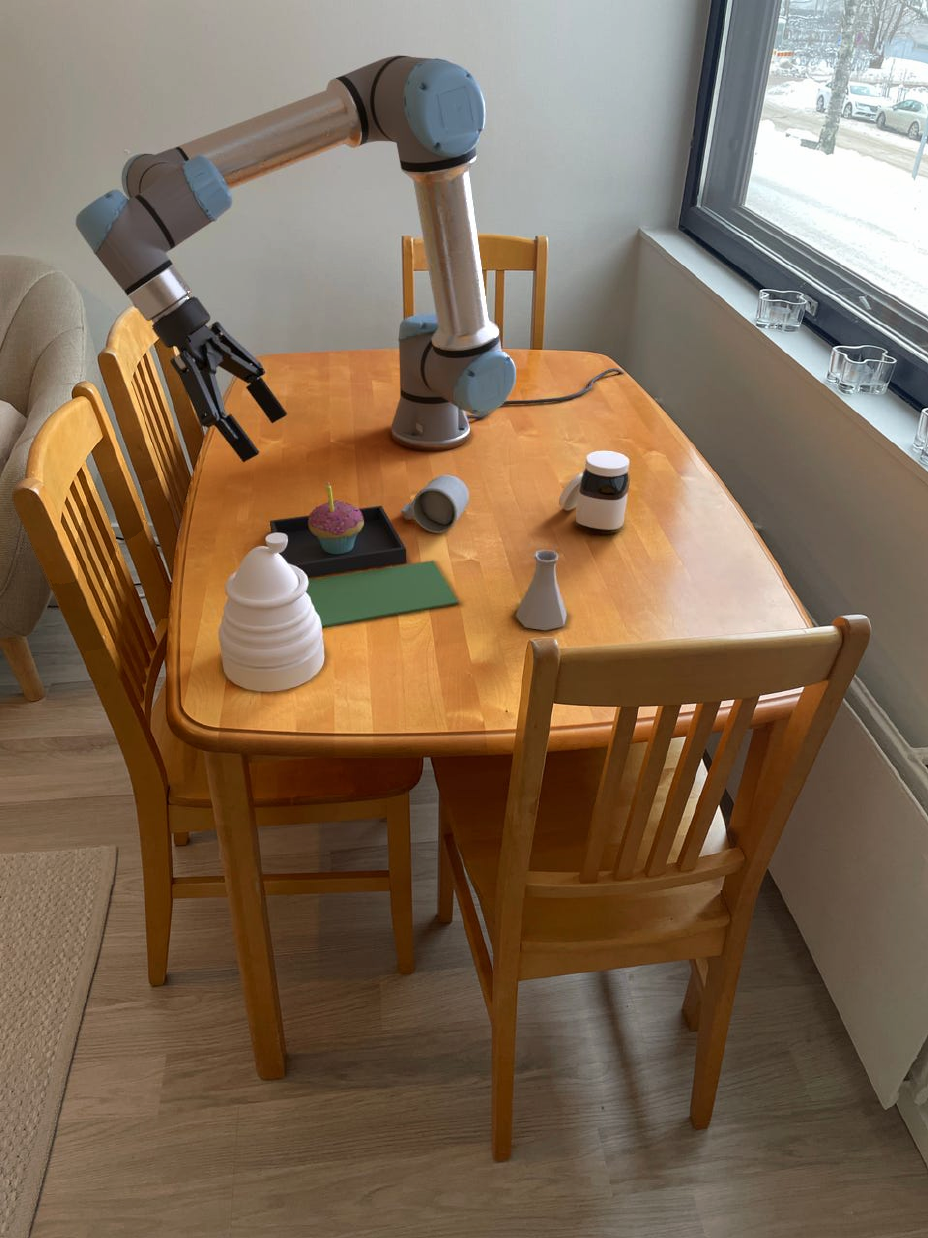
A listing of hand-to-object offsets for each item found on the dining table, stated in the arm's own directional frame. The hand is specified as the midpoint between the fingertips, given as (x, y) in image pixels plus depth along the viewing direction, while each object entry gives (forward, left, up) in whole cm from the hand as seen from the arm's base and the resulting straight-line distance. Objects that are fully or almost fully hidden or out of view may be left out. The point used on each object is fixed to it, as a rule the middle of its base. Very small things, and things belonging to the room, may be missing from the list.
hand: (266, 437), depth 134 cm
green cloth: (-11, +20, -17) cm, 29 cm away
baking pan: (-8, +5, -17) cm, 20 cm away
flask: (-31, +32, -18) cm, 48 cm away
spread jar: (-50, +8, -17) cm, 54 cm away
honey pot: (+6, +31, -17) cm, 36 cm away
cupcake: (-8, +5, -17) cm, 20 cm away
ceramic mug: (-25, +1, -18) cm, 31 cm away
